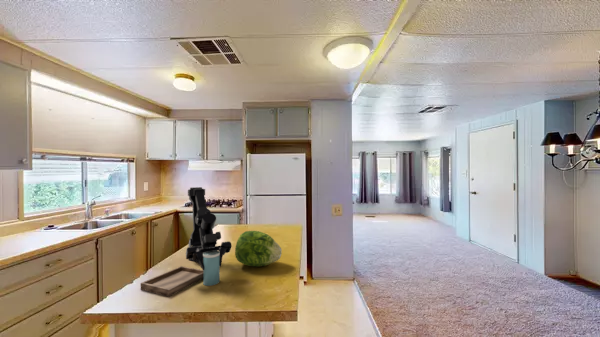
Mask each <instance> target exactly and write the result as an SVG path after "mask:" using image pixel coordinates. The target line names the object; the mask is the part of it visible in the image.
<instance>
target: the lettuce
mask: <svg viewBox="0 0 600 337" xmlns="http://www.w3.org/2000/svg"><path fill="white" fill-rule="evenodd" d="M234 253H235V254H234V255H235V256H234V257H235V258H236V260H237V261H238V262H239V263H241V264H243V265H245V266H248V267H249V266H250V267H265V266H268V265H271V264H273V263H276V262H277V261H279V260H280V258H281V257H282V247H281V246H280V244H279V243H278V242H276V241H275V239H274V238H273V237H272V236H271V235H269V234H268V233H264V232H262V231H257V230H246V231H244V232H242V233H241V234H239V237H238V239H237V241H236V244H235V251H234Z"/></svg>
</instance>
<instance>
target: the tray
mask: <svg viewBox="0 0 600 337" xmlns="http://www.w3.org/2000/svg"><path fill="white" fill-rule="evenodd" d="M200 281H203V269H198V268H194V267H188V266H182V265H180V266H178V267H177V268H173V269H172V270H169V271H167V272H164V273H161V274H159V275H157V276H155V277H152V278H150V279H147V280H145V281H143V282H140V291H141V290H142V291H145V292H148V293H154V294H156V295H162V296H165V297H168V298H169V297H171V296H173V295H175V294H176V293H178V292H179V293H180V292H181V291H182V290H184V289H186V288H189V287H191V286H192V285H195V284H196V283H198V282H200Z"/></svg>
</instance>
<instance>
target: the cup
mask: <svg viewBox="0 0 600 337" xmlns="http://www.w3.org/2000/svg"><path fill="white" fill-rule="evenodd" d="M203 264H204V270H203V269H202V270H203V279H202V281H203V282H202V283H203V285H204V286H206V287H210V286H215V285H218V284H219V283H220V279H221V278H220V252H219V251H207V252H204V253H203Z"/></svg>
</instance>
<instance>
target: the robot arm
mask: <svg viewBox="0 0 600 337" xmlns="http://www.w3.org/2000/svg"><path fill="white" fill-rule="evenodd" d="M187 196H188V199H189V201H190V202H191V204H192V224H193V225H192V228H193V230H192V232H191V233H190V238H189V241H188V247H187V248H186V249H185V250H186V251H185V259H186V260H188V261H193V262H195V263H197V264H198V265H199V266H200V268H201V270H204V264H203V253H204V252H207V251H219V252H220V267H222V262H223V256H225V254H226V253H227V254H228V253H230V252H231V249H232V247H233V246H232V242H231V241H223V242H221V244H220V245H217V244H218V242H217V241H218V240H221V239H222V235H221V231H216V232H215V233H214V230H213V229H214V228H215V225H216V221H217V216H216V215H215V214H214V213H212V212H211V210H210V209H209V208H208V207H207V201H206V197H205V196H206V188H203V187H198V186H197V187H189V189H188V190H187Z"/></svg>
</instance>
